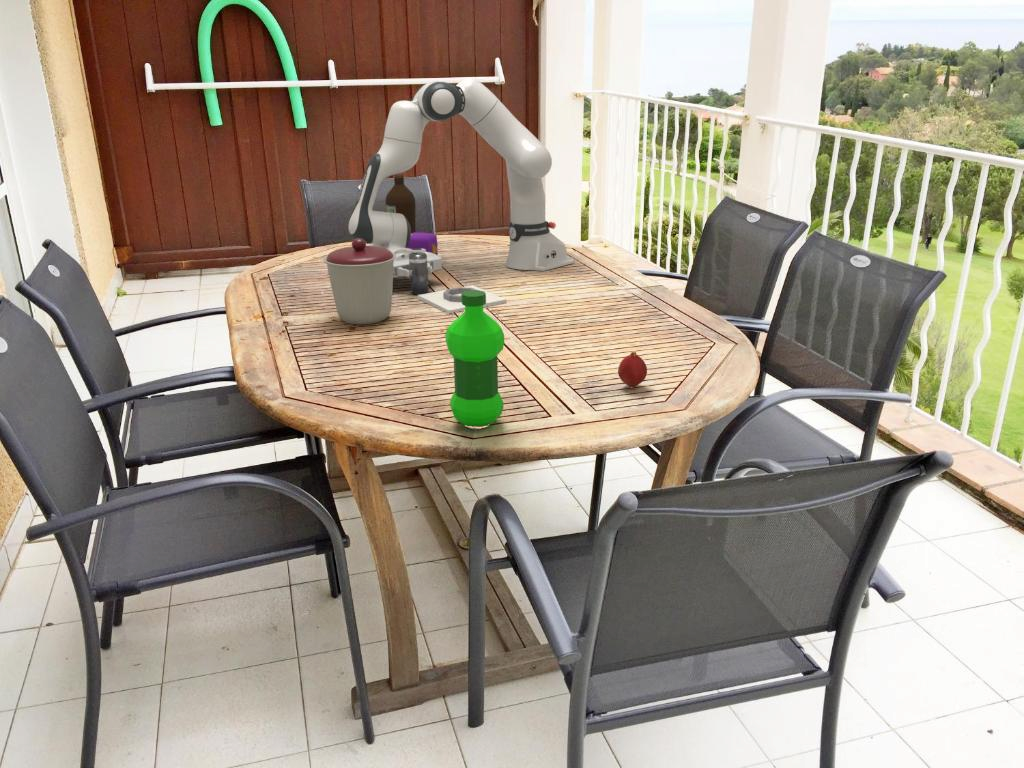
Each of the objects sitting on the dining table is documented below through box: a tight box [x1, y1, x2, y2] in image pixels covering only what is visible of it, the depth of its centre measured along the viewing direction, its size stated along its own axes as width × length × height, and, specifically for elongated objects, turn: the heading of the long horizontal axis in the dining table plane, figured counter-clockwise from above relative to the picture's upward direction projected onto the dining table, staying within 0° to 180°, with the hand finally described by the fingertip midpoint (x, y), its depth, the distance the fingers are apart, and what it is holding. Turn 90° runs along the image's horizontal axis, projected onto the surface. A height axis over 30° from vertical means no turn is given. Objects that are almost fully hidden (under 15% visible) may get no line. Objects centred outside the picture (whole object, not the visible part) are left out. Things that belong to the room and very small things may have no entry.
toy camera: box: [407, 232, 439, 256], centre depth 266 cm, size 11×14×10 cm
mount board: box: [417, 284, 507, 314], centre depth 225 cm, size 18×18×2 cm
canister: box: [323, 238, 396, 325], centre depth 207 cm, size 18×18×21 cm
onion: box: [617, 350, 648, 388], centre depth 164 cm, size 6×6×8 cm
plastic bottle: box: [445, 290, 505, 426], centre depth 145 cm, size 10×10×25 cm
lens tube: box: [409, 252, 430, 295], centre depth 231 cm, size 5×5×11 cm
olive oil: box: [385, 172, 417, 233], centre depth 289 cm, size 11×11×25 cm
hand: (420, 272), depth 230 cm, fingers closed on lens tube, 5 cm apart
